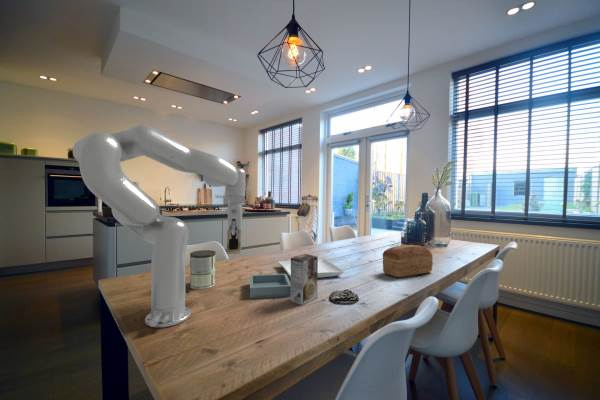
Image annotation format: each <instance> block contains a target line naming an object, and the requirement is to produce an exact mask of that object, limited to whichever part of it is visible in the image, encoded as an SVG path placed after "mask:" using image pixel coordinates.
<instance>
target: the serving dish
mask: <svg viewBox="0 0 600 400" xmlns="http://www.w3.org/2000/svg"><path fill="white" fill-rule="evenodd" d="M288 276H289V275H288V273H271V274H269V273H268V274H250V275H249V299H264V298H265V299H266V298H279V297H280V298H281V297H282V298H283V297H290V290H291V280H290V279H289V278H290V277H288Z"/></svg>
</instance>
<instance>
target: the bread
mask: <svg viewBox="0 0 600 400" xmlns="http://www.w3.org/2000/svg"><path fill="white" fill-rule="evenodd" d="M433 257H434V256H433V254H432V252H431V250H429V249H428V248H427V247H426V246H422V245H416V244H402V245H397V246H393V247H388V248H387V249H385V250H384V251H383V253H382V271H383V272H384V273H385V274H386V275H388V276H389V277H390V276H391V277H395V278H403V277H408V276H409V277H410V276H417V275H421V274H428V273H430V272H432V270H433V265H434V263H433Z"/></svg>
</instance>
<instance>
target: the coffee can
mask: <svg viewBox="0 0 600 400" xmlns="http://www.w3.org/2000/svg"><path fill="white" fill-rule="evenodd" d="M189 257H190V258H189V260H190V261H189V262H190V264H189V267H190V268H189V272H190V273H189V275H190V276H189V287H190V289H193V290H206V289H210V288H212V287H214V286H215V285H216V251H214V250H210V249H204V250H195V251H192V252H190V253H189Z"/></svg>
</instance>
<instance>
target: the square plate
mask: <svg viewBox="0 0 600 400" xmlns="http://www.w3.org/2000/svg"><path fill="white" fill-rule="evenodd" d="M277 263H278V264H279V265H280V267H282V268H283V270H284V271H285V272H286V274H287V276H289V278H291V259H289V260H280V261H279V260H278V261H277ZM344 273H345V270H343V269H341V268H340V267H338V266H337V265H336V264H334V263H332V262H331V261H329V260H328V259H327V260H326V259H325V258H318V279H321V278H331V277H337V276H341V275H342V274H344Z"/></svg>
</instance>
